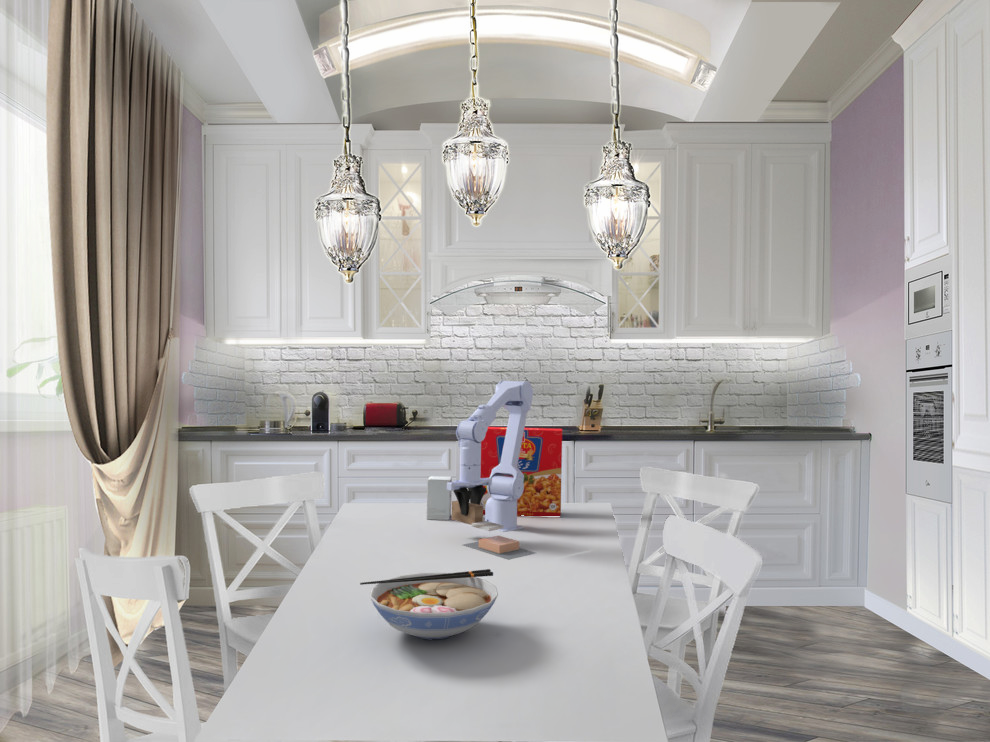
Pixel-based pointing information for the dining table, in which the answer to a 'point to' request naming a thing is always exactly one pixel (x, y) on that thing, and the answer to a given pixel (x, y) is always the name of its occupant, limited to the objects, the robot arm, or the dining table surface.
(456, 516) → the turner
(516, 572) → the dining table surface
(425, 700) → the dining table surface
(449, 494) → the supplement box
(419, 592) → the ramen bowl
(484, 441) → the pasta box
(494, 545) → the tile
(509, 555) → the mat
